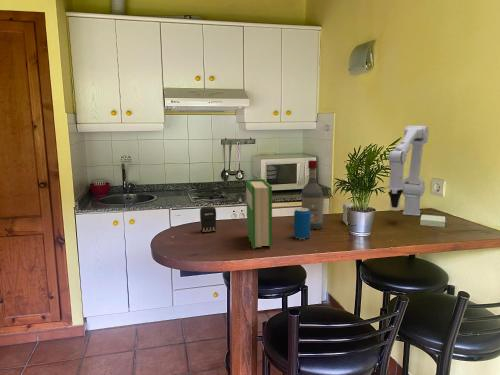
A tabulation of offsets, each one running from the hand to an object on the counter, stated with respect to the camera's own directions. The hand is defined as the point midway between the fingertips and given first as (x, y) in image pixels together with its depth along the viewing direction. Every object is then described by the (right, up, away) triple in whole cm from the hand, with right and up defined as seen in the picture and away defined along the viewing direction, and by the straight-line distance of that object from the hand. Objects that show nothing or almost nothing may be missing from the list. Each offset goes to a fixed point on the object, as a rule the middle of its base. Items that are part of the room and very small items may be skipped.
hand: (395, 206), depth 179 cm
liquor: (-39, -9, -3) cm, 40 cm away
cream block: (0, -1, 0) cm, 2 cm away
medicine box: (-20, -8, +3) cm, 22 cm away
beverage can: (-45, -12, -18) cm, 50 cm away
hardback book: (-63, -13, -23) cm, 68 cm away
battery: (-85, -11, -8) cm, 86 cm away
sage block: (+17, -8, 0) cm, 19 cm away
